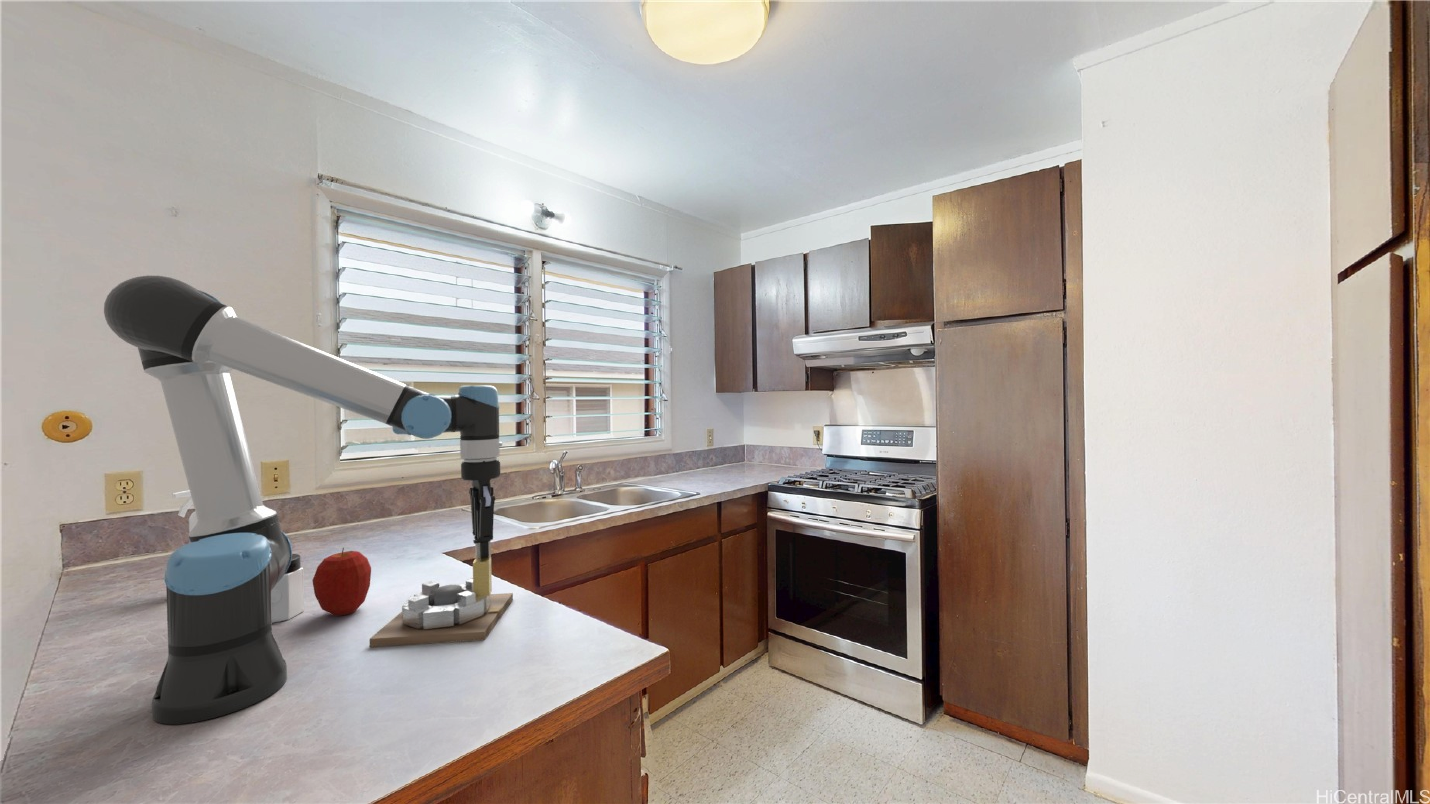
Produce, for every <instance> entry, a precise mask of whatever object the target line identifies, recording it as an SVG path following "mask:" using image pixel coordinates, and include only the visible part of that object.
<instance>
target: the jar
mask: <svg viewBox="0 0 1430 804" xmlns="http://www.w3.org/2000/svg"><path fill="white" fill-rule="evenodd" d="M301 565H302V564H301V555H300V554H297V553H292V558H291V563H290V565H289V568H288V570H287V572H286V573H285V575H284V576H283V577H282V579H281V580H280V581H279V582H278V583H277V584H276V585H275V586H274V588H273V589H272V590H271V624H274V623H280V622H283V621H288V620H291V619H293V618H294V617H296V616H297V615H300V614H301V613H303V612H304V611H305V593H304V592H305V591H304V589H305V588H304V587H305V585H304V568H303V567H301Z"/></svg>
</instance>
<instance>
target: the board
mask: <svg viewBox="0 0 1430 804" xmlns="http://www.w3.org/2000/svg"><path fill="white" fill-rule="evenodd" d="M461 592H462V586H460V585H459V584H447V585H442V586H439V588H437V589H435V590H434V606H441V605H451V604H455V603H457V594H459V593H461ZM513 596H514V593H513V592H508V593H491V604H490V606H489V609H488V611H487V613H484V615H482V616H480V617H477V618H475V619H472V620H470V621H467V622H465V623H462V624H460V625H459V624H456V623H455V625H454V626H449V627H439V628H430V629H424V627H422V628H420V629H417V628H415V627H412V626H409V625H406V624H404V623H403V622H402V611H401V612H400V613H398V614H397V615H396V616H394V617H393V618H392V619H391V620H390V621H389V622H388V623H386V624H385V625H383V627H382V628H380V629H379V630H378V631H376V633H375V634H373V635H372V636H371V637H370V638H369V648H377V647H392V646H393V647H394V646H406V645H407V646H408V645H425V644H441V643H452V642H453V643H455V642H471V641H472V642H473V641H485V640H486V638H488V636H489V634H490V633H491V631H492V630H494V628H495V626H496V625H497V623H498V622H499V620H500V619H501V617H502V616H503V615H504V613H505V612H506V611H507V609H508V607H509V606H510V604H511V603H512V602H513V600H514V597H513Z"/></svg>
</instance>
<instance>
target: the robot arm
mask: <svg viewBox="0 0 1430 804" xmlns="http://www.w3.org/2000/svg"><path fill="white" fill-rule="evenodd" d="M103 314H104V318H105V321H106V324H107V325H108V327H109V328H110V330H111V331H112V332H113V333H114V334H115V335H116V336H117V337H118V338H120V339H121V340H122V341H124V342H125V343H127V344H130V345H131V346H134V347H136V348H137V351H138V354H139V357H140V360H141V365H142V367H143V371H144V372H143V373H145V374H147V375H149V376H151V377H153V378H155V379H157V380H158V381H159V382H160V384H161V389H162V392H163V395H164V399H165V404H166V406H167V407H166V408H167V410H168V414H169V418H170V421H171V426H172V428H173V433H174V436H175V440H176V444H177V447H178V451H179V456H180V458H181V463H182V467H183V470H184V475H185V478H186V481H187V485H188V490H190V493H191V497H192V501H193V504H192V505H193V509H194V512H196V516H197V519H198V522H197V524H196V525H195V527H194V528H193V529H192V530H191V531H190V533H189V532H188V538H189V542H188V543H186V544H184V545H182V546H180V547H178V548H177V549H175V550H174V551H173V552H172V553H171V554H170V555H169V557H168V559H167V560H166V561H167V562H166V570H165V572H164V583H165V585H166V587H165V589H166V620H167V623H166V624H167V643H168V644H167V647H168V649H167V650H168V655H167V659H166V662H165V663H166V664H165V666H164V668H163V671H162V674H161V675H160V678H159V681H158V684H157V687H156V689H155V692H154V694H153V697H152V700H151V716H152V717H151V718H152V719H153V720H154V721H155V722H156V723H160V724H165V725H179V724H181V725H183V724H189V723H195V722H201V721H206V720H210V719H215V718H218V717H221V716H225V715H228V714H231V713H234V712H237V711H240V710H243V709H245V708H247V707H250V706H252V705H254V704H256V703H258V702H260V701H262V700H265V699H266V698H268V697H269V696H271V695H273V694H274V693H276V692H277V691H278V690H280V689H281V688H282V687H283V686H284V685H285V683H286V682H287V679H288V668H287V666H288V665H287V662H286V660H285V659H284V657H283V655H282V653H281V650H280V647H279V645H278V644H277V641H276V638H275V637H274V635H273V631H272V630H273V628H272V627H273V626H272V624H273V623H271V590H272V589H273V588H274V586H275V585H276V584H277V583H278V582H279V581H280V580H281V579H282V577H283V576H284V575H285V573H286V572H287V570H288V568H289V565H290V563H291V558H292V554H293V548H292V543H291V541H290V539H289V537H288V535H286V533H285V532H284V530H282V528H281V524H280V521H279V516H278V512H277V511H276V510H275V509H271V508H269V507H267V506H266V505H264V503H263V502H264V501H263V498H262V495H261V490H260V488H259V483H258V479H257V475H256V472H255V467H254V463H253V459H252V455H251V451H250V447H249V443H248V440H247V436H246V432H245V429H244V424H243V421H242V417H241V412H240V409H239V405H238V401H237V397H236V393H235V389H234V386H233V381H232V378H231V372H232V371H233V370H236V371H238V372H241V373H243V374H246V375H250V376H253V377H255V378H258V379H260V380H262V381H265V382H269V383H271V384H275V385H277V386H280V387H283V388H286V389H289V390H291V391H294V392H296V393H299V394H303V395H305V396H307V397H310V398H313V399H316V400H318V401H322V402H324V403H327V404H329V405H332V406H335V407H338V408H341V409H343V410H346V411H349V412H352V413H355V414H358V415H360V416H363V417H365V418H369V419H371V420H374V421H377V422H380V423H383V424H385V425H388V426H390V427H391V429H392V432H393V433H394V434H396V435H408V436H413V437H415V438H420V439H424V440H428V439H429V440H430V439H433V438H436V437H438V436H441V435H442V434H443V433H459V434H460V436H459V437H460V439H459V448H460V449H459V450H460V459H461V460H463V461H462V462H461V463H460V476H461V477H460V478H461V479H462V480H463V481H469V482H471V481H472V482H471V483H472V485H471V486H470V487H469V490H468V494H469V499H470V508H471V509H470V511H471V526H472V527H471V528H472V532H471V533H472V536H474V537H473V544H475V546H474V548H475V552H474V553H475V554H474V555H475V558H487V557H491V558H492V552H491V551H492V550H491V542H492V541H493V540H494V516H495V515H494V514H495V511H494V510H495V503H496V502H495V501H496V497H495V495H494V494H495V493H494V486H491V480H492V479H497V478H499V477H500V476H501V460H499V457H500V455H501V454H500V453H501V451H500V448H501V447H503V443H502V441H500V406H499V392H498V390H497V388H496V387H495V386H493V385H461V386H460V387H459V388H458V389H459V390H458V393H457V394H456V395H455V394H454V395H435V394H432V393H428V392H425V391H423V390H419V389H418V388H415V387H413V386H409V385H407V384H405V383H403V382H400V381H398V380H395V379H393V378H390V377H388V376H385V375H383V374H380V373H378V372H375V371H373V370H370V369H367V368H365V367H363V366H360V365H357V364H355V363H352V362H350V361H347V360H345V359H343V358H340V357H338V356H336V355H333V354H330V353H328V352H326V351H323V350H320V349H318V348H315V347H313V346H311V345H308V344H305V343H303V342H301V341H298V340H295V339H292V338H291V337H287V336H286V335H283V334H281V333H279V332H276V331H273V330H270V329H268V328H265V327H263V326H260V325H258V324H256V323H253V322H250V321H248V320H245V319H244V318H241V317H238V316H237V315H236V312H235V310H234V309H233V307H231V306H230V305H229V306H228V305H226V304H224V303H222V302H221V301H220V300H219V299H217V298H216V297H214V296H213V295H211V294H209V293H207V292H204V291H203V290H198V289H197V288H195V287H193V286H192V285H190V284H188V283H186V282H184V281H182V280H180V279H176V278H172V277H168V276H163V275H142V276H141V275H140V276H135V277H132V278H129V279H126V280H124V281H122V282H120V283H118V284H117V285H116V286H115V287H113V288H112V289H111V290H110V292H109V293H108V294H107V295H106V298H105V301H104V305H103ZM191 497H190V498H191ZM190 542H191V543H190Z"/></svg>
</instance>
